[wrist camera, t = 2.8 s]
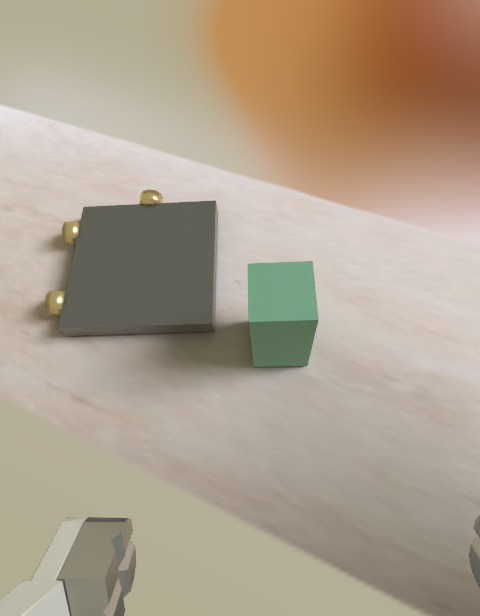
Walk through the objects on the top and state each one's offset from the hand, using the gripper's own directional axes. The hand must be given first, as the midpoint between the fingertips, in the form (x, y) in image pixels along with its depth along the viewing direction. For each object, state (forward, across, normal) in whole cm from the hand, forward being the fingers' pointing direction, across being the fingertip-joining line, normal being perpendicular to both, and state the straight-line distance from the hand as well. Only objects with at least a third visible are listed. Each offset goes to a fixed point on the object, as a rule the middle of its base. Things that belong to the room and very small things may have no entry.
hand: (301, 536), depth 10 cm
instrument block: (+22, -1, +4) cm, 22 cm away
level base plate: (+27, +10, 0) cm, 29 cm away
